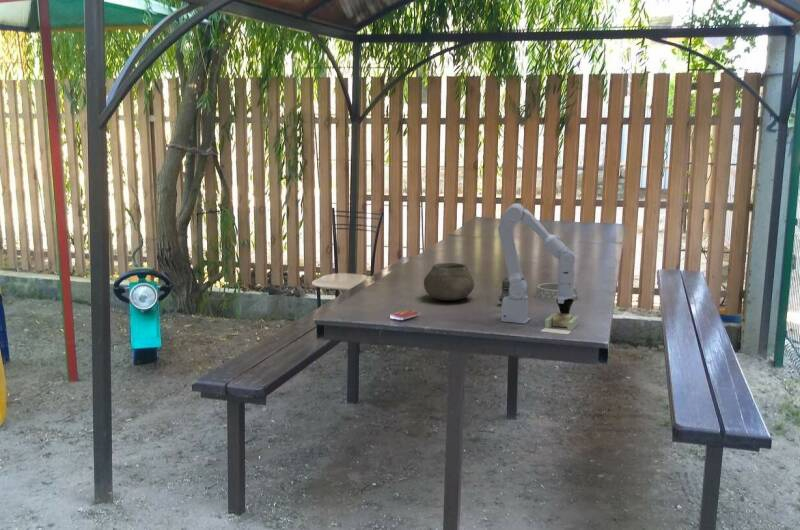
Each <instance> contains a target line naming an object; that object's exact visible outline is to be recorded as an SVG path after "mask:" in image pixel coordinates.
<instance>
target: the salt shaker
mask: <svg viewBox="0 0 800 530" xmlns="http://www.w3.org/2000/svg"><path fill="white" fill-rule="evenodd" d="M501 285H502V286H501V291H502V292H501V294H500V295H499V296H498V298H499V302H500V304H498V305H500V306H499V307H501V306H502V300H503V298H504V297H509V295H510V294H509V287H510V283H509V278H508V277H507V276H505V278H504V279H503V280H502V283H501Z"/></svg>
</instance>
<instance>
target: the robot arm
mask: <svg viewBox="0 0 800 530" xmlns="http://www.w3.org/2000/svg"><path fill="white" fill-rule="evenodd" d="M518 223H520V225H526V226H528V227H530V229H531V230H533V231H534V233H535V234H536V235H537V236H539V238H541V239H542V240H543V247H545V248H546V250H547V251H548V252H549V253H550V254H551V255H552V256H553V257H554V258H555V259H557V263H558V272H557V283H558V294H557V297H558V300H557V306H558V309H559V313H566V314H570V311H571V307H572V305H573V303H574V302H575V301H574V299H569V298H573V297H574V298H575V297H576V296H577V297H578V294H577V295H574V294H573V289H574V286H575V284H574V283H575V261H576V256H575V253H574V252H573V250H572V249H570V247H569V245H568V246H566V244H565V243H563V242H562V240H561V236H559V235H556V234H551V233H549V232H548V230H546V227H544V226H543V225H542V224H541V222H540V221H539V220H538V219H537V218H536V216H534V214H533V213H532V212H530V211H529V209H527V208H525V206H524V205H523V204H521V203H517V202H516V203H513V204H511V205H509V206H508V207H507V208H506V210H505V211H504V212H503V214H502V217H501V220H500V223H499V225H498V226H497V227H498V228H497V231H498V235H499V241H500V243H501V248H502V252H503V256H504V260H505V265H506V268H507V273H508V280H509V283H510V287H509V294H510V295H509V297H504V298H503V300H502V307H501V319H500V321H501V322H507V323H515V324H526V323H528V322H529V321H530V320H531V319H532V318H531V317H528V315H529V314H528V313H529V311H528V310H529V296H528V295H527V291H528V289H529V283H528V282H527V280H526V279H525V277H524V274H523V272H522V269H521V264H520V260H519V256H518V252H517V248H516V243H515V239H514V234H513V229H514V228H515V227H516V225H517V224H518ZM577 297H576V298H577Z"/></svg>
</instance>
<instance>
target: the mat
mask: <svg viewBox="0 0 800 530" xmlns="http://www.w3.org/2000/svg"><path fill="white" fill-rule="evenodd" d="M540 332H542V333H543V332H544V333H550V334H551V333H552V334H558V335H560V334H561V335H569V334H570V333H571V332H572V331H568V330H567V329H557V328H545V327H544V328H542V330H540Z"/></svg>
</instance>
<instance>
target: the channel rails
mask: <svg viewBox="0 0 800 530" xmlns="http://www.w3.org/2000/svg"><path fill="white" fill-rule="evenodd" d="M555 313H556V312H554V313H552V314H550V315H549V316H548V317H547V318H546V319H545V320H544V328H549V329H551V327H553V326H552V325H553V315H554V314H555ZM579 324H580V316H579V315H574V316H572V319H571V320H570V321H569V322H568V327H567V329H566V330H567V331H571V332H572V331H573V330H575V328H576V327H577V326H578V325H579Z"/></svg>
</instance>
